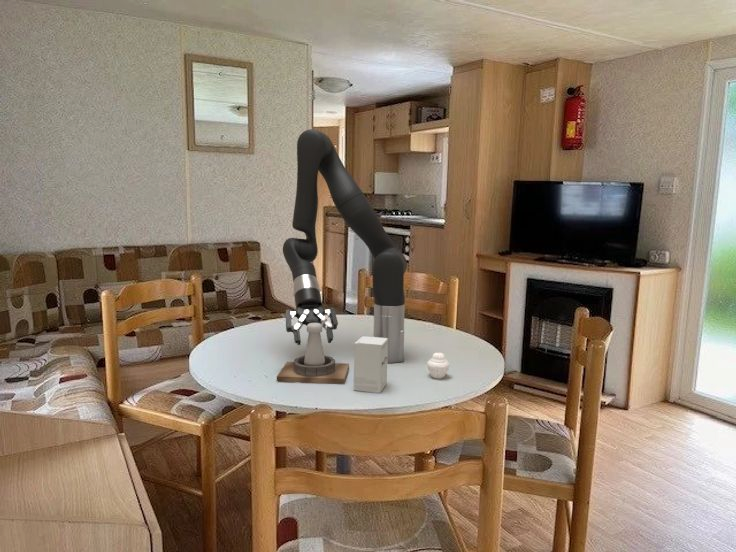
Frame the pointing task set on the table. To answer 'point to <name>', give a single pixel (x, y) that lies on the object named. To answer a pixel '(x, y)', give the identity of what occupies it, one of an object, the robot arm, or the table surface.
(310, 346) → the salt shaker
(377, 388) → the supplement box
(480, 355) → the table surface
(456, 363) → the table surface
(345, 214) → the robot arm
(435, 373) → the muffin
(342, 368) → the socket base
